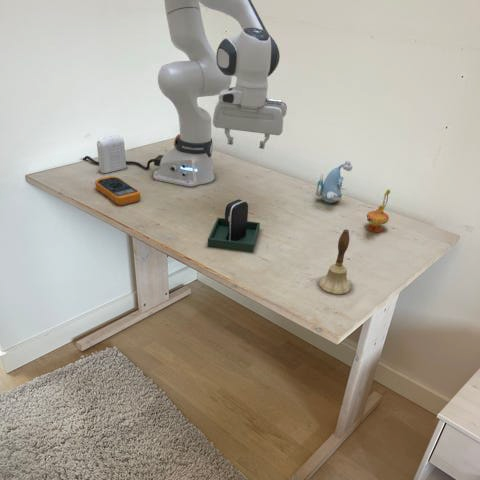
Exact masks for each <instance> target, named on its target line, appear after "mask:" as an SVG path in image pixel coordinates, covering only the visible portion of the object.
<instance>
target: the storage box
mask: <svg viewBox="0 0 480 480" xmlns="http://www.w3.org/2000/svg"><path fill="white" fill-rule="evenodd" d="M260 226H261V222H258V221H248V220H247V227H246V236H244V237H242V238H240V239H238V240H236V241H230V240H227V239H226V236H227V235H228V223H227V221H225V217H217V218H216V220H215V222H214V224H213V227H212V229H211V231H210V233H209V235H208V238H207V248H216V249H222V250H229V251H230V250H231V251H239V252H245V253H246V252H247V253H254V250H255V248H256V244H257V240H258V237H259V233H260V229H261V228H260Z"/></svg>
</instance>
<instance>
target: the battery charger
mask: <svg viewBox="0 0 480 480" xmlns="http://www.w3.org/2000/svg"><path fill="white" fill-rule="evenodd" d="M248 215H249V203H248V202H247V201H246V200H243V199H240V198H238V199H235V200H233V201H231V202H229V203H227V204H226V206H225V209H224V218H225V221H227V223H228V235H227V236H226V239H227V240H230V241H236V240H238V239H240V238H242V237H244V236H246V227H247V221H248V217H249V216H248Z"/></svg>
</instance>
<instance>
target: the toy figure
mask: <svg viewBox="0 0 480 480" xmlns="http://www.w3.org/2000/svg"><path fill="white" fill-rule="evenodd" d="M341 169H343V170H344V171H346V172H351V171H352V170H353V164H351V161H350V160H345V162H344V163H342V164H339V166H337V167H335V168H333V169H332V170H330V172H328V174H327V175H326V177H325V179H324V174H323V173H321V175H320V176H319V177H320V178H319V180H318V181H317V184H316V185H317V186H316V192H315V195H316V196H317V198H320V197H321V199H322V200H323V201H324V202H326V203H328V204H334V203H336V202H337V201H340V200H341V199H342V196H343V194H342V190H343V191H344V190H345V191H346V190H347V189H346V188H342V187H343V181H344V176H341Z"/></svg>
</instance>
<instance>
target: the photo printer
mask: <svg viewBox="0 0 480 480" xmlns="http://www.w3.org/2000/svg"><path fill="white" fill-rule="evenodd" d="M124 140H125V139H124V137H123V136H120V135H107V136H104V137H101V138H100V139H98V140H97V142H96V148H97V149H96V150H97V158H98V162H99V164H98V167H99V172H100V173H101V174H108V173H112V172H117V171H122V170H125V169H126V168H127V164H126V161H127V160H126V148H125V147H126V146H125V141H124Z"/></svg>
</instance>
